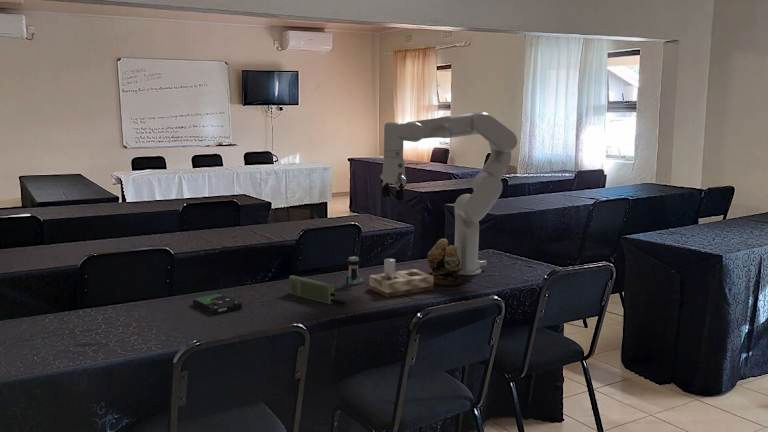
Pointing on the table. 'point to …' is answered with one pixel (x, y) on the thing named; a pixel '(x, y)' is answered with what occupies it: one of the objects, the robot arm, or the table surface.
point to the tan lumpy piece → (444, 264)
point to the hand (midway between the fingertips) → (392, 198)
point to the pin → (389, 269)
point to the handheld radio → (313, 290)
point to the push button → (353, 271)
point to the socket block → (401, 283)
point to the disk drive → (217, 303)
